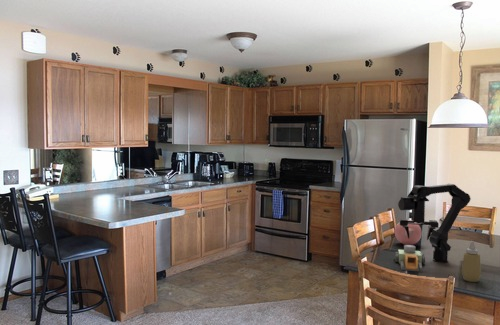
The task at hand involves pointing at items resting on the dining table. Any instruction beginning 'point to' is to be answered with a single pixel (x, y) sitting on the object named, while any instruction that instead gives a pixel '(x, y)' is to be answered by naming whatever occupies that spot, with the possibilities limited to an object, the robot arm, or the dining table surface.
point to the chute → (411, 264)
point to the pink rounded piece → (413, 234)
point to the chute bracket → (411, 269)
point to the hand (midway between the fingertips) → (418, 239)
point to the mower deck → (409, 250)
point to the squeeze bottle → (471, 264)
